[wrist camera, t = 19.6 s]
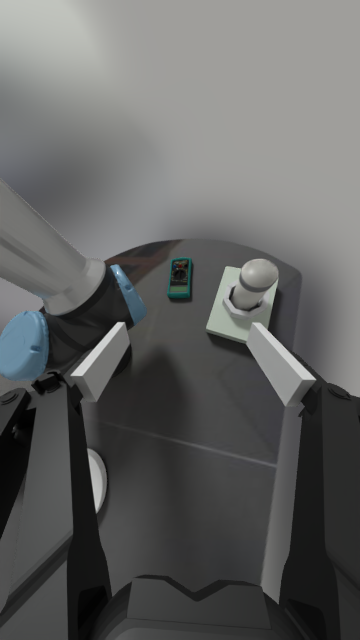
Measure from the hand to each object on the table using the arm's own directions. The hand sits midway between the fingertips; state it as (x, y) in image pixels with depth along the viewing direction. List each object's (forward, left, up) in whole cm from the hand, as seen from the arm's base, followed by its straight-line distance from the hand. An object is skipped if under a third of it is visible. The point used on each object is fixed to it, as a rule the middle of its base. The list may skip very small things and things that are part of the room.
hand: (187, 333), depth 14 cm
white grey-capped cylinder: (+7, +16, -21) cm, 27 cm away
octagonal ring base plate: (+7, +16, -25) cm, 31 cm away
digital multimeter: (-14, +21, -26) cm, 36 cm away
